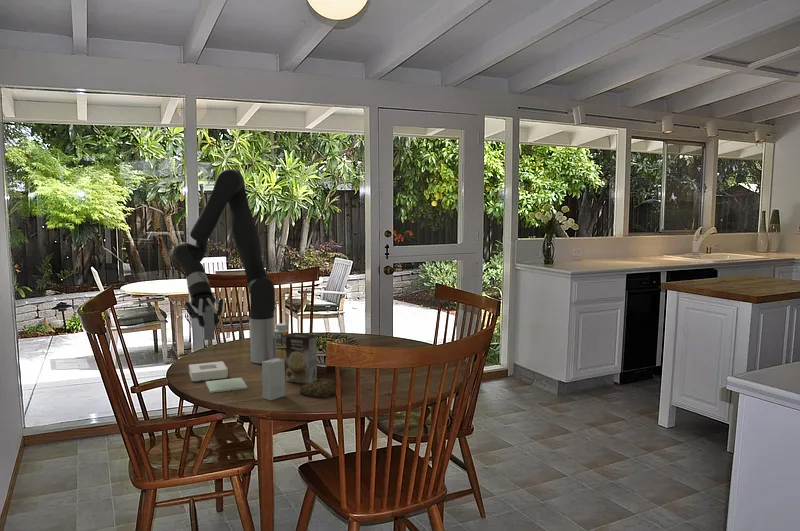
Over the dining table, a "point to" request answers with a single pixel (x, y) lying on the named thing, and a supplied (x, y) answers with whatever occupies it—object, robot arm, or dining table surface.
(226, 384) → the sage mat
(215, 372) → the key socket
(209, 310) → the t-key
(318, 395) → the brown rock
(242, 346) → the dining table surface
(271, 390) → the skincare box
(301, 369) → the coffee box
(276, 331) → the pill bottle
